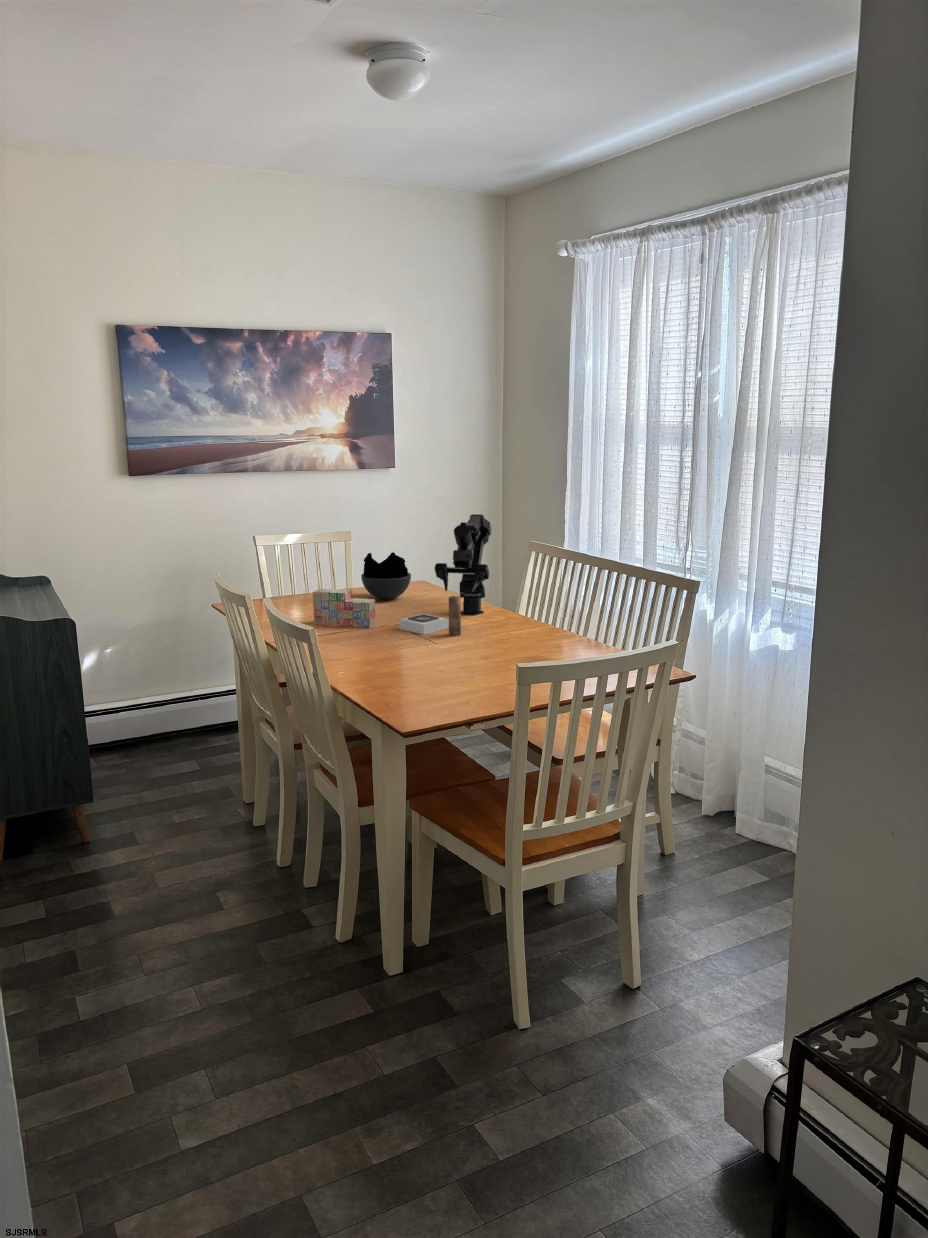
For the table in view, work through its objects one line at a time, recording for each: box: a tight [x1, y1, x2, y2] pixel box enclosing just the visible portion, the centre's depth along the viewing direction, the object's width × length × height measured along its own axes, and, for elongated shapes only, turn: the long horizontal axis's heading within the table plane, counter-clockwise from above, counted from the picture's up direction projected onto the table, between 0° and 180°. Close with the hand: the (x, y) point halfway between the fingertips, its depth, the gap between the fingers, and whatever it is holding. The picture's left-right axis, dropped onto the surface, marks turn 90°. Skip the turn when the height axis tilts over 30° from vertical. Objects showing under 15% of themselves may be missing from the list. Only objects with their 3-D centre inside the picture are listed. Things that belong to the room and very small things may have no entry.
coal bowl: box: [360, 552, 412, 600], centre depth 363 cm, size 20×20×19 cm
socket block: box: [398, 613, 449, 635], centre depth 315 cm, size 12×12×4 cm
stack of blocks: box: [312, 588, 376, 629], centre depth 321 cm, size 21×6×12 cm, turn 74°
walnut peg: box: [448, 595, 462, 637], centre depth 305 cm, size 4×4×13 cm
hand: (458, 591), depth 311 cm, fingers open, 9 cm apart
